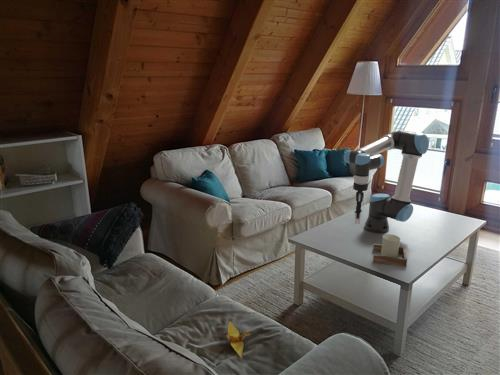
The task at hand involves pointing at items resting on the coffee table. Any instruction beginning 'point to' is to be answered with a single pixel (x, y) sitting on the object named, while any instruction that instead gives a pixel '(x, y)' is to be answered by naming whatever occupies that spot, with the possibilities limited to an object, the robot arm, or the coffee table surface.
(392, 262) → the bay
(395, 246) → the can
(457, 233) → the coffee table surface
